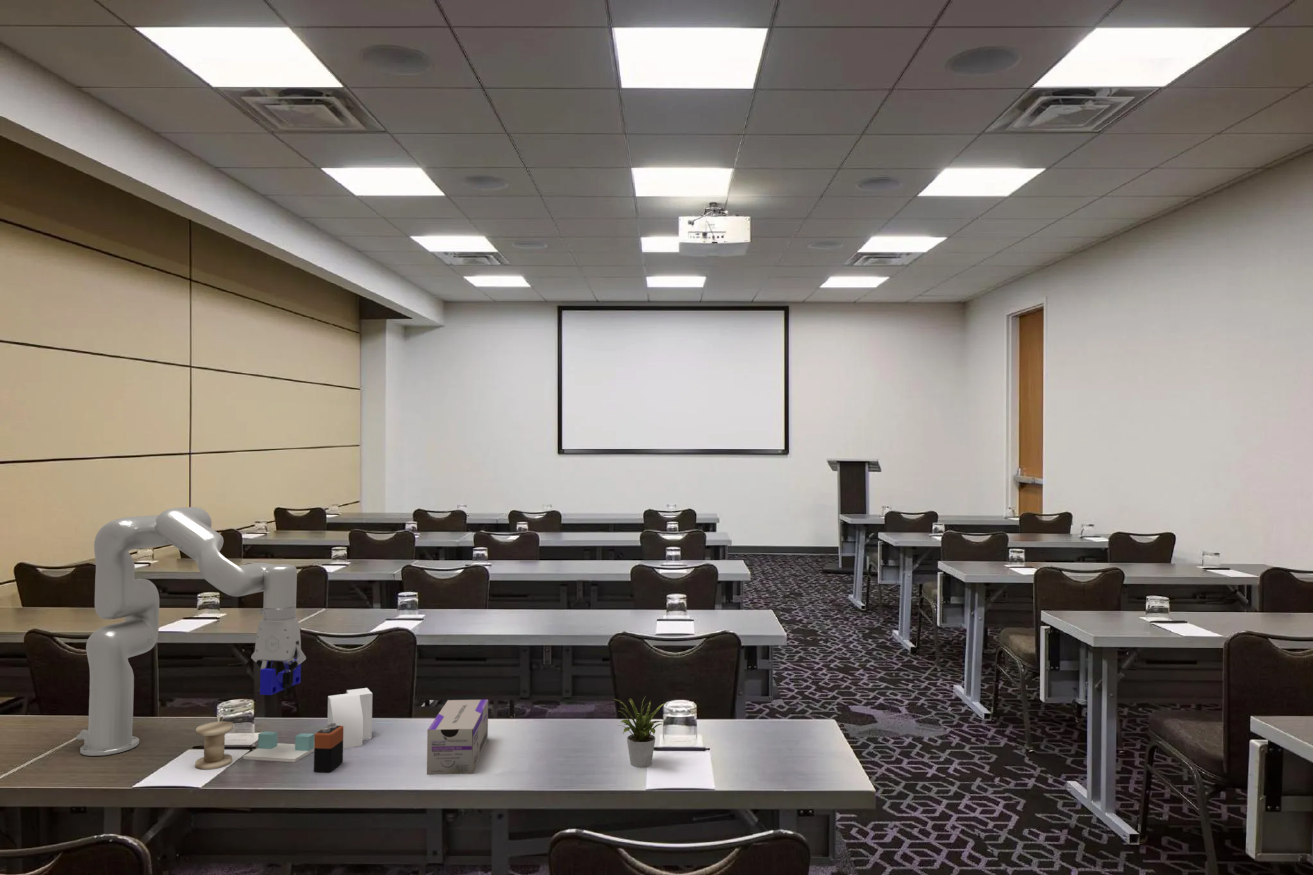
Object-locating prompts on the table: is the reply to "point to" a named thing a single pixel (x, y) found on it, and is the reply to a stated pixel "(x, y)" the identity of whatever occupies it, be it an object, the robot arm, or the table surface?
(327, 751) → the battery
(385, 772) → the table surface
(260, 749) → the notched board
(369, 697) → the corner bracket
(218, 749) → the bobbin
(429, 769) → the surgical sutures box
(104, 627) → the robot arm
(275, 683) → the blue cradle bracket
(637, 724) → the house plant
